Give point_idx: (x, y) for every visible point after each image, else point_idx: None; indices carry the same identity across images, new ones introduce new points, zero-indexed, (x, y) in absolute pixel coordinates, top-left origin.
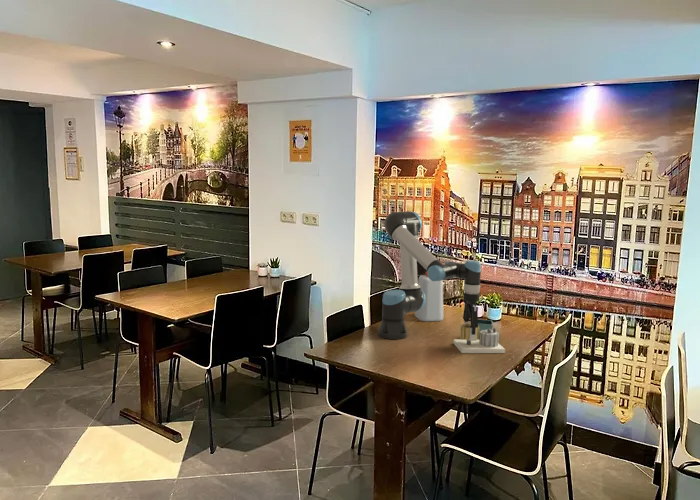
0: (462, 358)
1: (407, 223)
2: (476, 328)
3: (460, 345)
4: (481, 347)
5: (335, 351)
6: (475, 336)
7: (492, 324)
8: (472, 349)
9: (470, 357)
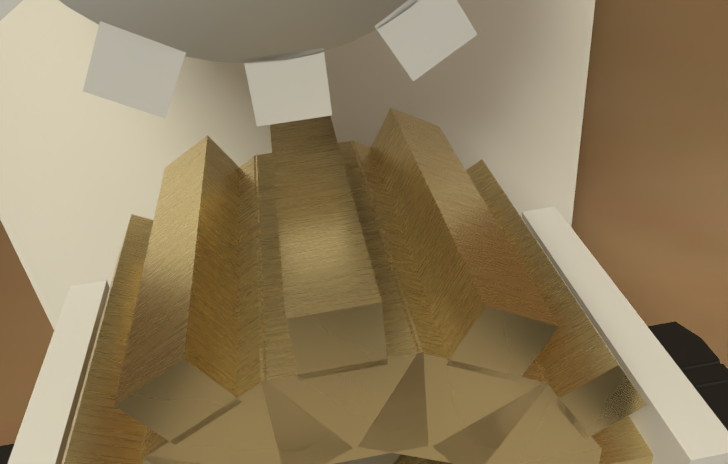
0: (722, 289)
1: None
2: (637, 393)
3: None
4: (498, 16)
5: None
6: (599, 266)
7: None
8: (571, 185)
9: (712, 200)
